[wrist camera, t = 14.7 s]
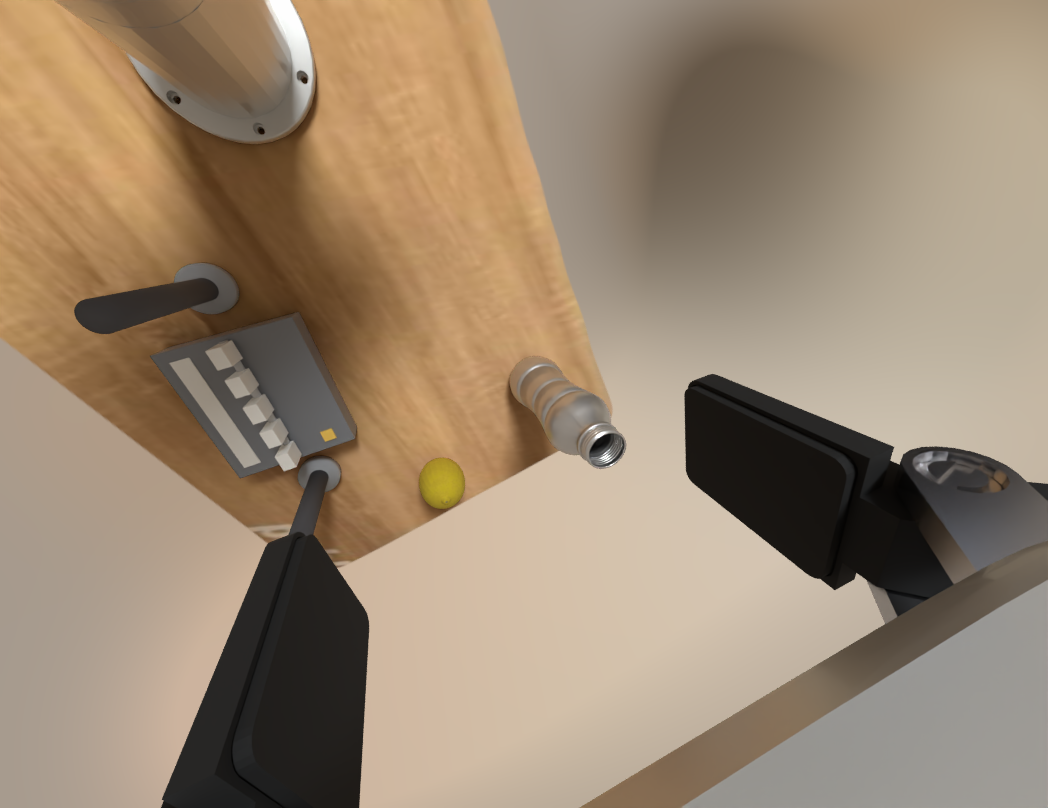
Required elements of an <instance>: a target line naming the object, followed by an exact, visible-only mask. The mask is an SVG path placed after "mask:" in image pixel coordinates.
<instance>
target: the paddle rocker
mask: <svg viewBox="0 0 1048 808" xmlns="http://www.w3.org/2000/svg"><path fill="white" fill-rule="evenodd" d="M205 352H206V354H207V355H208V357H209V358H210V360H211V361H212V363H213V364H214V366H215V367H216V369H217V370H222V369H225V368H229V367H232V366H234V368H235V369H236V371H237V372H235V373H233V374H232V375H231V376H230V377H229V378H227V379H226V380H225V383H226V384H227V386H228V387H229V389H230V390H231V392H232V393H233V395H234V396H235V398H236V399H237V398H240V397H244V396H247V395H250V394H251V395H252V396H253V398H251V399H250V400H249V402H248V403H247V404H246V405H245V406H244V407H243V410H244V411H245V413H246V414H247V416H248V417H249V419H250V421H251V422H252V424H253V425H254V424H257V423H260V422H263V421H267V420H268V422H267V423H266V424H265V426H264V427H263V429H262V430H261V432H260V433H259V434H260V436H261V437H262V439H263V440H264V442H265V443H266V445H267V446H268V448H269V449H270V448H273V447H276V446H279V445H281V446H280V448H279V450H278V452H277V454H276V455H275V458H276V460H277V462H278V463H279V465H280V466H281V468H282V469H283V471H287V470H289V469H292V468H295V467H297V465H298V462H299V460H300V457H301V455H302V454H301V452H300V450H299V449H298V447H297V446H296V444H295V442H294V441H290V440H289V438H288V437H287V435H288V431H287V429H286V428H285V426H284V424H283V423H282V421H281V419H280V418H278V419H276V417H275V416H274V414H273V413H272V412H273V411H274V408H273V406H272V405H271V403H270V402H269V400H268V398H267V397H266V395H265V394H263V395H261V393H260V392H259V390H258V388H257V387H258V386H259V384H258V382H257V380H256V379H255V377H254V375H253V374H252V372H251V371H250V369H249V368H247V369H245V367H244V366H243V364H242V363H241V361H240V360H241V359H243V358H242V356H241V354H240V353H239V351H238V349H237V348H236V346H235V344H234V343H233V341H232V340H230V341H228V340H225V341H222V342H219V344H217V345H215V346H213V347H212V348H210V349H208V350H207V351H205Z"/></svg>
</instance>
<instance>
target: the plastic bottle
mask: <svg viewBox="0 0 1048 808" xmlns="http://www.w3.org/2000/svg"><path fill="white" fill-rule="evenodd" d="M510 387H511V391H512V394H513V395H514V397H515V398H516V400H517V401H518V402H520V403H521V404H522V405H524V406H525V407H527V408H529V409H530V410H531V411H532V412H533V413H534V414H535V415H536V416H537V418H538V420H539V421H540V423H541V425H542V427H543V429H544V431H545V434H546V436H547V438H548V439H549V441H550V443H551V444H552V445H553V446H554V447H555V448H556V449H558V450H559V451H562V452H564V453H566V454H570V455H580V456H581V457H582V458H583V459H585V460H586V461H588V462H589V464H590V465H592V466H593V467H595V468H599V469H603V468H608V467H611V466H613V465H614V464H616V463H617V462H618V461H619V460H620V459H621V458H622V456H623V455H624V453H625V450H626V441H625V438H624V437H623V435H622V434H620V433H619V432H618V431H617V430H616V428H615V427H614V426H612V425H611V415H610V412H609V410H608V408H607V406H606V404H605V403H604V401H603V400H602V399H601V398H599V397H598V396H596V395H595V394H593V393H591V392H588V391H586V390H584V389H582V388H579V387H577V386H576V385H574V384H573V383H571V382H570V381H569V380H568V379H567V378H566V377H565V376H564V375H563V373H562V371H561V370H560V369H559V367H558V366H557V365H556V364H555V363H554V362H553V361H551V360H549V359H547V358H544V357H540V356H532V357H528V358H525V359H523V360H522V361H520V362H519V363H518V364H517V365H516V366H515V367H514V369H513V371H512V373H511V375H510Z"/></svg>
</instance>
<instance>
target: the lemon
mask: <svg viewBox="0 0 1048 808" xmlns="http://www.w3.org/2000/svg"><path fill="white" fill-rule="evenodd" d="M419 488H420V492H421V494H422V496H423V498H424V500H425V501H426V502H427V503H428V504H429V505H430V506H432V507H434V508H438V509H446V508H450V507H452V506H454V505H455V504H456V503H457V502H459V500H460V499H461V497H462V496H463V493H464V489H465V478H464V474H463V471H462V470H461V468H460V467H459V465H458V464H457V463H456V462H454V461H453V460H451V459H448V458H436V459H433V460H431V461H430V462H428V463H427V464H426V465H425V466H424V468H423V469H422V471H421V473H420V477H419Z"/></svg>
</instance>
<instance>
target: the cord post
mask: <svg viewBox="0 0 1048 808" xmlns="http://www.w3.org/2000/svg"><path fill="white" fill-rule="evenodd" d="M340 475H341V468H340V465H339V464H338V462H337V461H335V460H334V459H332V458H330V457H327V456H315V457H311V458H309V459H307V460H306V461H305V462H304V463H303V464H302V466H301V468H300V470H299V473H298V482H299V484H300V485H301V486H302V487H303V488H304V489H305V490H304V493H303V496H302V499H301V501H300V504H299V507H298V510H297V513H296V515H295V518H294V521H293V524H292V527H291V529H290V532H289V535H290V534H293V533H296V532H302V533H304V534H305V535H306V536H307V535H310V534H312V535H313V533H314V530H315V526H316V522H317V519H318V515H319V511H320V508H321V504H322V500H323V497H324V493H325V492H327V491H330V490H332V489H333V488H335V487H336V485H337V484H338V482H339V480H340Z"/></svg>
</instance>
